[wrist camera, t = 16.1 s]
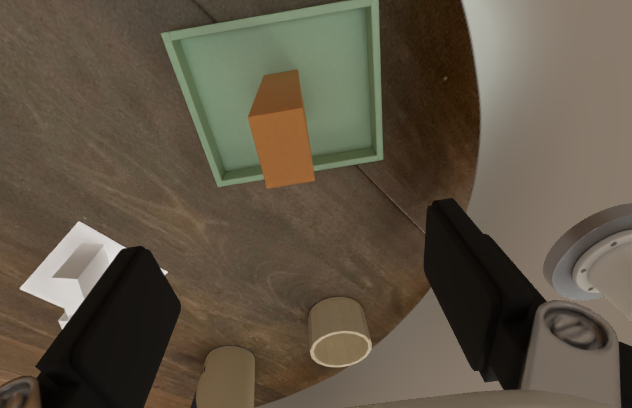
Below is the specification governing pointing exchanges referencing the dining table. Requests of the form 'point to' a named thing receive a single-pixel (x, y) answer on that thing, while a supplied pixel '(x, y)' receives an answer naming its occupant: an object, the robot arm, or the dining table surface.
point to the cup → (338, 332)
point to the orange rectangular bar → (281, 130)
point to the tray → (280, 56)
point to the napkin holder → (73, 269)
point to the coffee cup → (226, 379)
